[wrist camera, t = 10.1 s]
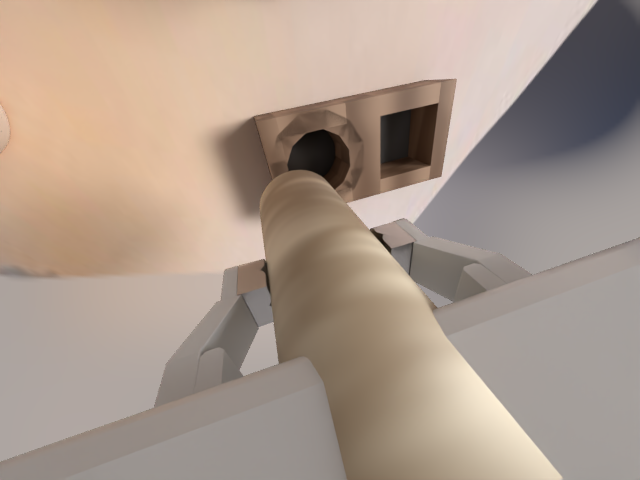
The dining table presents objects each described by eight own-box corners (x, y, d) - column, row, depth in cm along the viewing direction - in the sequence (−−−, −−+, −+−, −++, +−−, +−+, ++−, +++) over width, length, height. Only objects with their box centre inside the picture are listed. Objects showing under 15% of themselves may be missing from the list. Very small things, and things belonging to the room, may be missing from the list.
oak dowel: (330, 161, 12) (736, 515, 2) (338, 229, 15) (540, 536, 5) (248, 181, 12) (277, 798, 2) (271, 248, 14) (338, 645, 4)
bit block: (424, 80, 27) (456, 78, 23) (416, 165, 32) (441, 176, 28) (253, 116, 24) (256, 121, 20) (278, 202, 30) (284, 220, 26)
